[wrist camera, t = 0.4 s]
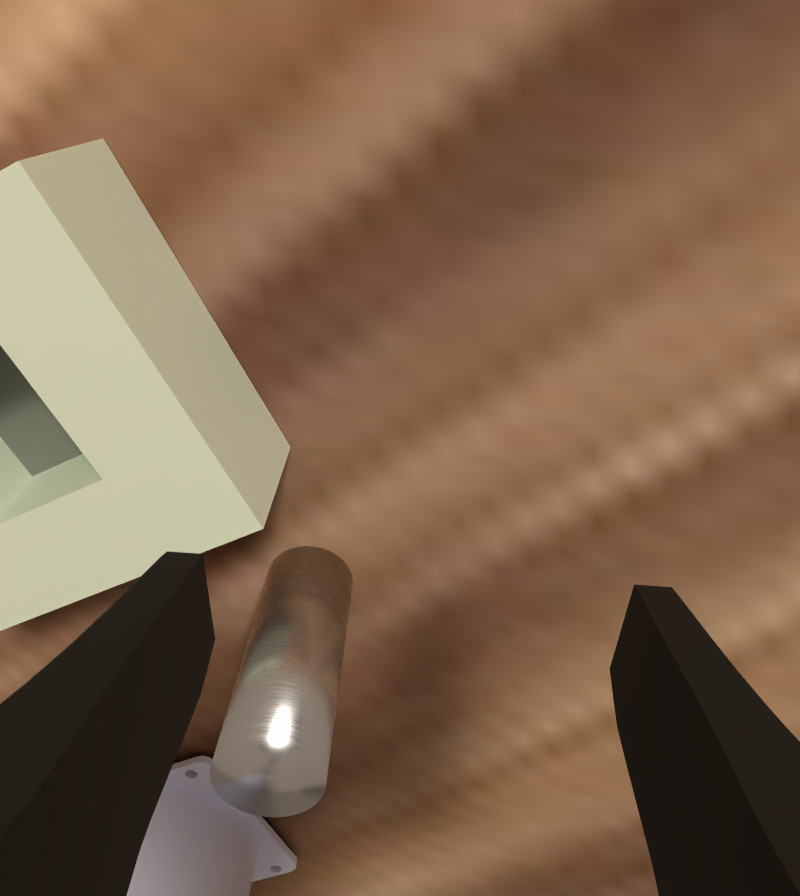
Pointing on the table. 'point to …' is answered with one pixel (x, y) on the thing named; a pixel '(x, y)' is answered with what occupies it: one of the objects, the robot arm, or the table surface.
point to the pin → (286, 689)
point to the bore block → (111, 394)
